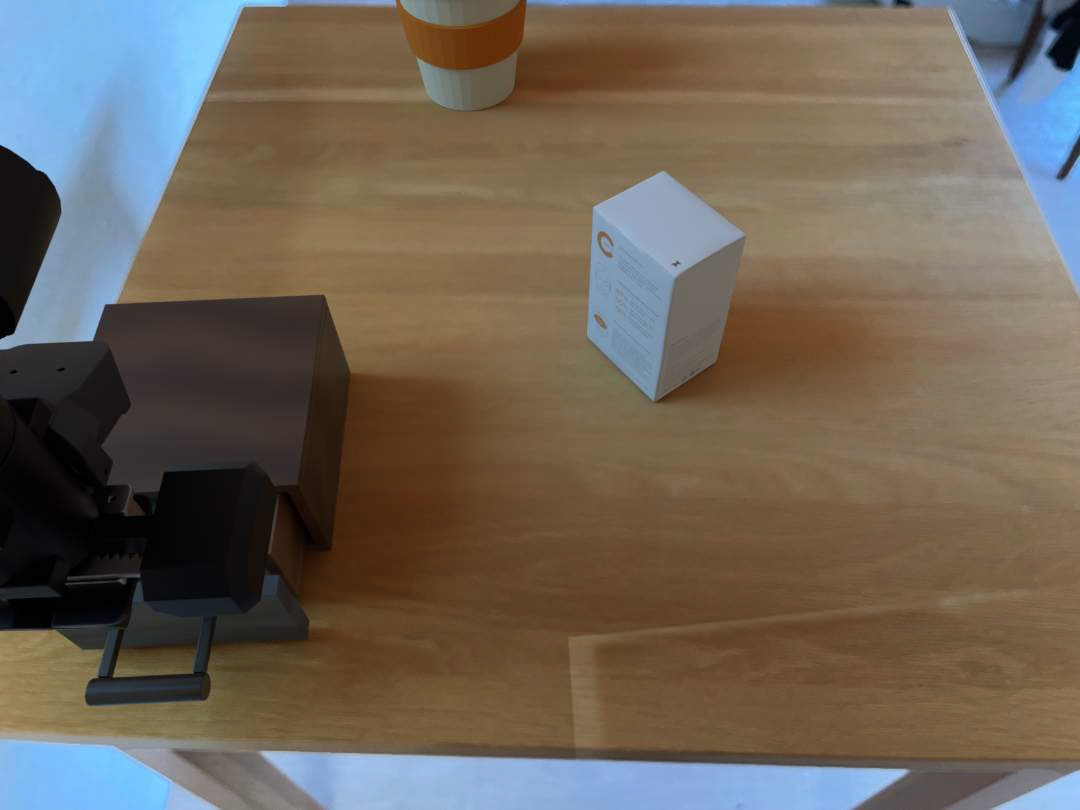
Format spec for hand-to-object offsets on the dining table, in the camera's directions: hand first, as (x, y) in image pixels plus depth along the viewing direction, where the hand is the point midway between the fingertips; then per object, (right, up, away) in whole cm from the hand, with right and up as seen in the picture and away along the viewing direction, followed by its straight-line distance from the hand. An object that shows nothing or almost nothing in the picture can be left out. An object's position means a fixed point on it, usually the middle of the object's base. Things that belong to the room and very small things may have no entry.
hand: (122, 619), depth 41 cm
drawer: (0, 0, +11) cm, 11 cm away
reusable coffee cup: (+14, +43, +42) cm, 62 cm away
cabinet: (-1, +7, +17) cm, 18 cm away
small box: (+29, +15, +22) cm, 39 cm away
